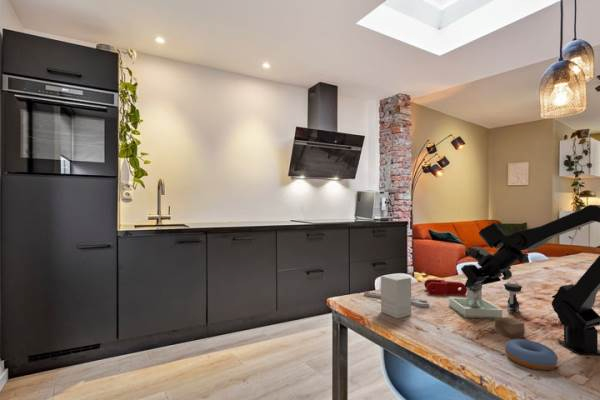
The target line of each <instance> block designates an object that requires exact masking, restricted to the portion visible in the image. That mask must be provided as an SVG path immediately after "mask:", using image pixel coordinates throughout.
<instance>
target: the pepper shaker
mask: <svg viewBox="0 0 600 400" xmlns="http://www.w3.org/2000/svg"><path fill="white" fill-rule="evenodd" d="M465 281H467V279H466V280H465ZM482 289H483V285H482V284H480V285H476V286H472V287H468V288H467V292H466V294H467V295H466V298H467V306H468V307H469V308H478V309H482V299H483V298H482V297H483V295H482Z"/></svg>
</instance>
